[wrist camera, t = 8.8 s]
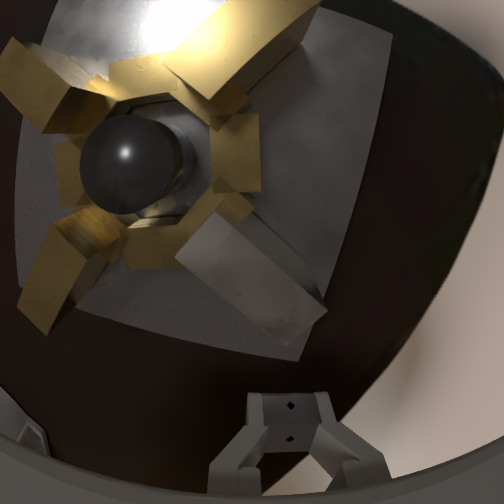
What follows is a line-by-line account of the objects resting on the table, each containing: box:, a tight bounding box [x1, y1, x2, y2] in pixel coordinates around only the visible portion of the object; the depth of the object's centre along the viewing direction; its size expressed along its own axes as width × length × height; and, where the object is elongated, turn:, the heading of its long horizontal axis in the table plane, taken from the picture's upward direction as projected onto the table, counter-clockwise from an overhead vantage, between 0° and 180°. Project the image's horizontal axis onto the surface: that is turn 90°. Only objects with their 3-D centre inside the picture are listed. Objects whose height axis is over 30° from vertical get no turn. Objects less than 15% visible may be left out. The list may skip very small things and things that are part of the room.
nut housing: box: [15, 0, 393, 362], centre depth 14 cm, size 22×22×7 cm
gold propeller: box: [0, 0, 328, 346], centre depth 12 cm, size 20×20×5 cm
